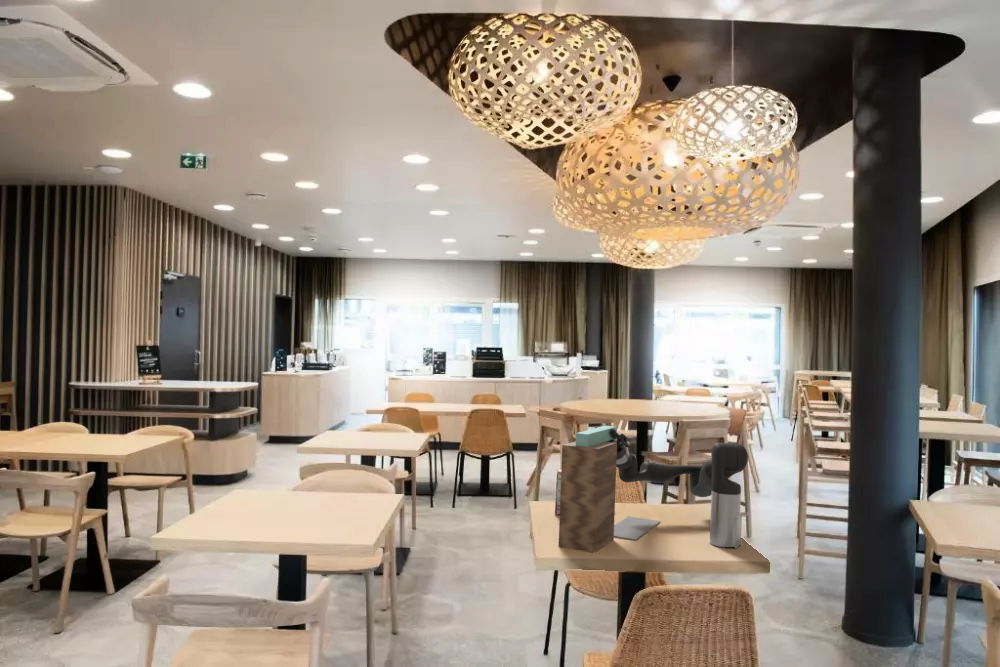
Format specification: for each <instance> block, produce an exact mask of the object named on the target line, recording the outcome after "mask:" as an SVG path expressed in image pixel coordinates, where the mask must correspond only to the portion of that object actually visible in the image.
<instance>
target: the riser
mask: <svg viewBox="0 0 1000 667" xmlns="http://www.w3.org/2000/svg"><path fill="white" fill-rule="evenodd" d="M575 445H576V440H575V441H572V442H569V443H564V444H562V446H561V448H562V449H561V469H560V470H561V495H560V515H559V524H558V525H559V527H558V547H560V548H566V549H571V550H575V551H582V552H586V553H587V552H588V553H596V552H598V551H599V550H601V549H602V548H604V547H606V546H607V545H608V544H610V543H611V542H612V541H614V538H615V537H614V525H615V515H616V514H615V509H616V507H615V506H616V487H617V486H616V484H617V483H616V482H617V480H616V479H617V467H616V461H617V443H614V442H603V443H599V444H596V445H593V446H590V447H581V446H575Z"/></svg>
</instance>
